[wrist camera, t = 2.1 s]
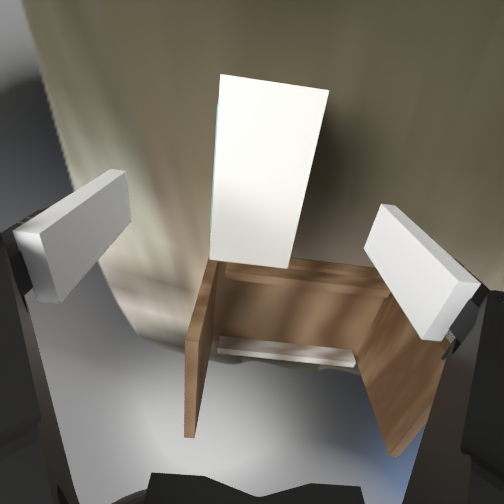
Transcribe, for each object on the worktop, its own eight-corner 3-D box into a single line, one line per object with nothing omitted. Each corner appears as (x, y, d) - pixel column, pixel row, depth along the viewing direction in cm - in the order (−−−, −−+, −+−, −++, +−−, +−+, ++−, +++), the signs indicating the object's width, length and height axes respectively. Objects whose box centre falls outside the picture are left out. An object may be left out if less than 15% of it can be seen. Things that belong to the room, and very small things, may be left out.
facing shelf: (397, 270, 34) (469, 370, 22) (359, 349, 41) (398, 456, 29) (211, 248, 32) (185, 340, 21) (206, 333, 40) (184, 437, 28)
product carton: (279, 215, 30) (287, 268, 22) (221, 208, 30) (206, 259, 21) (304, 87, 24) (329, 90, 16) (231, 76, 24) (215, 73, 15)
